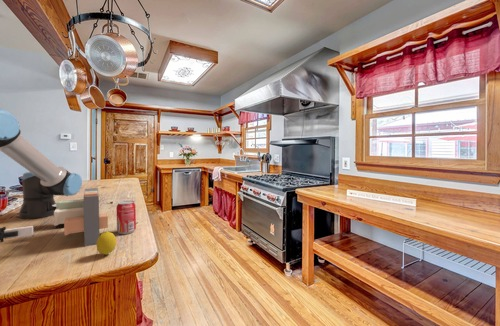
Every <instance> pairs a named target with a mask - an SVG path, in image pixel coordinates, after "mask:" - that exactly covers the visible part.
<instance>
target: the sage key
mask: <svg viewBox="0 0 500 326" xmlns="http://www.w3.org/2000/svg"><path fill="white" fill-rule="evenodd" d="M55 203H56V209H59V210H63V209H72V208H82V207H84V198H82V199H81V198H80V199H71V200H57V201H56V202H55Z"/></svg>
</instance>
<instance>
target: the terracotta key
mask: <svg viewBox="0 0 500 326" xmlns="http://www.w3.org/2000/svg"><path fill="white" fill-rule="evenodd" d="M108 217H109V216H108V213H102V214H100V213H99V230H103V229H108V228H109V227H108V226H109V225H108V223H109V222H108ZM63 229H64V234H63V235H64V236H68V235H69V234H76V233H81V232H84V217H76V218H69V217H68V218H65V220H64V228H63Z"/></svg>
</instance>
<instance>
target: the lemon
mask: <svg viewBox="0 0 500 326" xmlns="http://www.w3.org/2000/svg"><path fill="white" fill-rule="evenodd" d="M116 245H117V238H116V236H115V234H114V233H112V232H110V231H108V230H107V231H104V232H102V233H101V234H99V237H98V240H97V244H96V250H97V252H99V254H102V255H105V256H108V255H109V254H110V253H111V252H113V251H114V250H115V249H116Z"/></svg>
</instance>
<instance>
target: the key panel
mask: <svg viewBox="0 0 500 326" xmlns="http://www.w3.org/2000/svg"><path fill="white" fill-rule="evenodd" d="M99 195H100V194H99V188H98V187H95V188H94V187H93V188H85V189H84V193H83V199H84V231H83V232H84V233H83V234H84V247H89V246H93V245H94V246H95V245H97V240H98V237H99V236H100V229H99V215H100V204H99V203H100V202H99V200H100V199H99Z"/></svg>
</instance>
